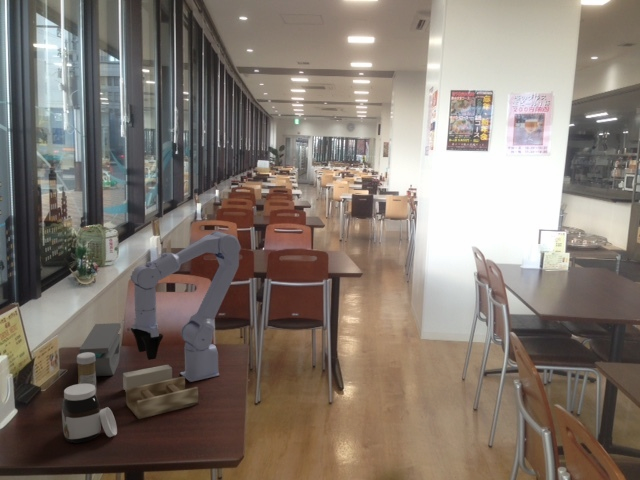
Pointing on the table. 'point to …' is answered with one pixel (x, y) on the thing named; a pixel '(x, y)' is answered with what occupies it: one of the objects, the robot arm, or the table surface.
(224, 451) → the table surface
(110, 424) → the spread jar
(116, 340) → the grey long box
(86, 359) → the sprinkles bottle
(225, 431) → the table surface
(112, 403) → the table surface
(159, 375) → the grayish beige rectangular block
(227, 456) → the table surface
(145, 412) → the wooden compartment tray
